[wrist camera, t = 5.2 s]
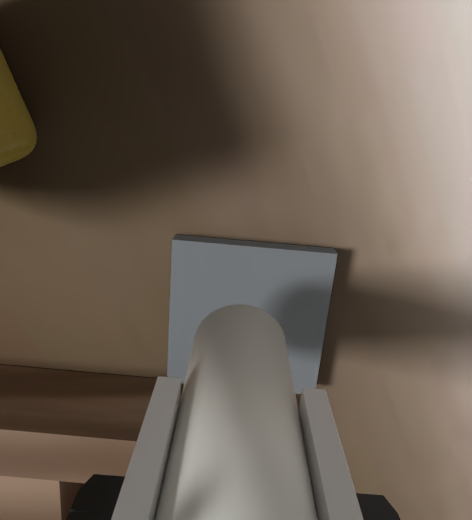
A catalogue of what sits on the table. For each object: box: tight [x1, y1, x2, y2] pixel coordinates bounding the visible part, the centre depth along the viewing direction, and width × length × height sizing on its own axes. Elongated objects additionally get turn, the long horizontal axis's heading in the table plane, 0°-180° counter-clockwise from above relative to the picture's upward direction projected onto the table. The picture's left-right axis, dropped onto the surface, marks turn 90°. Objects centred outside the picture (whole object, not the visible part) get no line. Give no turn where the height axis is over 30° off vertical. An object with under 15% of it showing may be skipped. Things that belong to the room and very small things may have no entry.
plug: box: [155, 304, 318, 520], centre depth 12 cm, size 4×4×14 cm
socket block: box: [0, 365, 184, 520], centre depth 23 cm, size 11×18×5 cm, turn 85°
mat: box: [167, 234, 338, 394], centre depth 22 cm, size 8×8×1 cm
